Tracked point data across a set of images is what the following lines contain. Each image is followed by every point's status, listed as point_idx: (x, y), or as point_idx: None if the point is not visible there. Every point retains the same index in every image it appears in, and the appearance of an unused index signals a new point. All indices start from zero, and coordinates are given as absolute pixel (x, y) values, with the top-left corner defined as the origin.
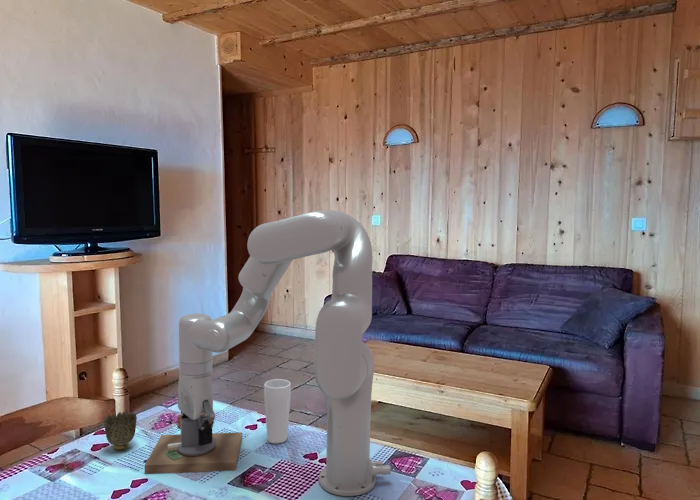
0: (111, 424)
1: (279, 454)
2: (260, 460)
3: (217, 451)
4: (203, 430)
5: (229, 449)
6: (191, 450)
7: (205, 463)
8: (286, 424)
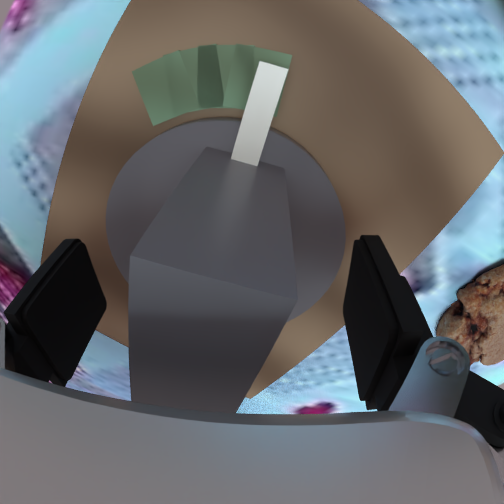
0: None
1: (111, 382)
2: (92, 346)
3: None
4: (11, 326)
5: None
6: (135, 186)
7: (52, 205)
8: None
